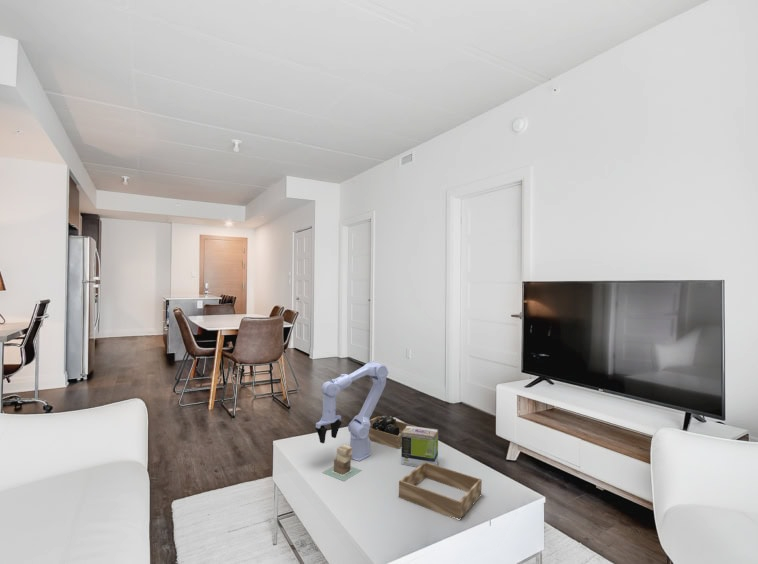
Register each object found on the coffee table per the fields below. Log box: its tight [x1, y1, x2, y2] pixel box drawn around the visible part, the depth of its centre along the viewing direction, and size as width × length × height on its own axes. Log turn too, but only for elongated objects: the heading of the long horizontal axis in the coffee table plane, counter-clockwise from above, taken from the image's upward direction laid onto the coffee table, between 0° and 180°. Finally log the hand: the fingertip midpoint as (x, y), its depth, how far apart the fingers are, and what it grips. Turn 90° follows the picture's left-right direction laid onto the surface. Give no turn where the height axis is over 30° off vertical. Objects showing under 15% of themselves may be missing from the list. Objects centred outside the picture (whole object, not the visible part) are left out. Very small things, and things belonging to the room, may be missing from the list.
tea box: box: [400, 425, 439, 468], centre depth 178 cm, size 15×10×15 cm
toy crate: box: [398, 462, 483, 519], centre depth 150 cm, size 21×25×6 cm
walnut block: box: [333, 457, 352, 475], centre depth 167 cm, size 5×5×5 cm
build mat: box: [321, 465, 363, 482], centre depth 167 cm, size 12×12×1 cm
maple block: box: [336, 444, 353, 463], centre depth 167 cm, size 4×4×5 cm
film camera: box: [372, 415, 400, 436], centre depth 207 cm, size 18×12×10 cm
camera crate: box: [368, 416, 418, 450], centre depth 207 cm, size 19×25×6 cm
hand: (328, 440), depth 175 cm, fingers open, 7 cm apart
